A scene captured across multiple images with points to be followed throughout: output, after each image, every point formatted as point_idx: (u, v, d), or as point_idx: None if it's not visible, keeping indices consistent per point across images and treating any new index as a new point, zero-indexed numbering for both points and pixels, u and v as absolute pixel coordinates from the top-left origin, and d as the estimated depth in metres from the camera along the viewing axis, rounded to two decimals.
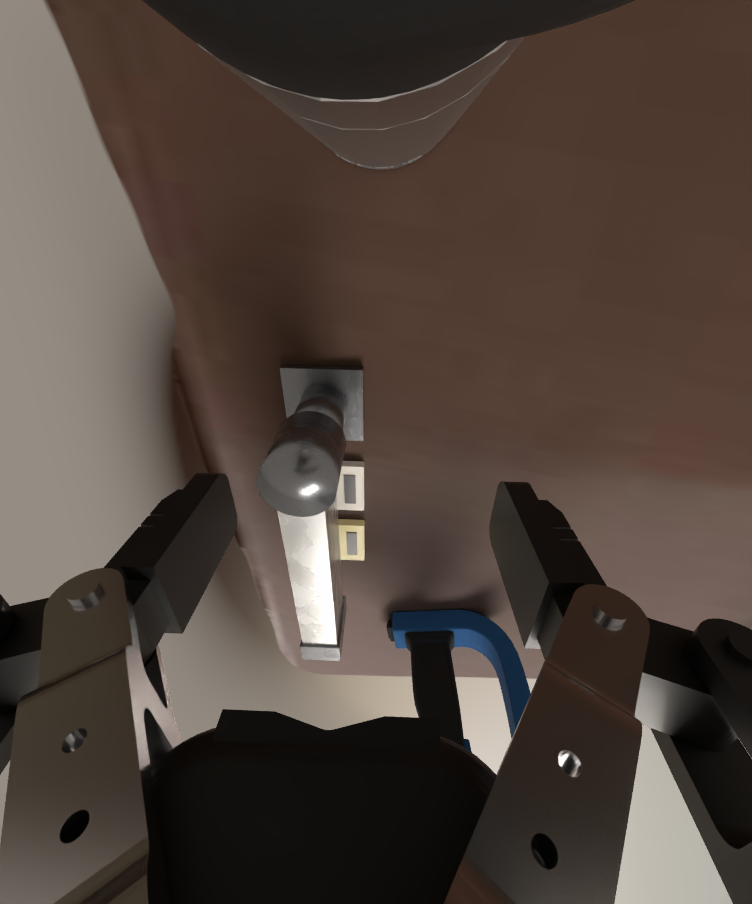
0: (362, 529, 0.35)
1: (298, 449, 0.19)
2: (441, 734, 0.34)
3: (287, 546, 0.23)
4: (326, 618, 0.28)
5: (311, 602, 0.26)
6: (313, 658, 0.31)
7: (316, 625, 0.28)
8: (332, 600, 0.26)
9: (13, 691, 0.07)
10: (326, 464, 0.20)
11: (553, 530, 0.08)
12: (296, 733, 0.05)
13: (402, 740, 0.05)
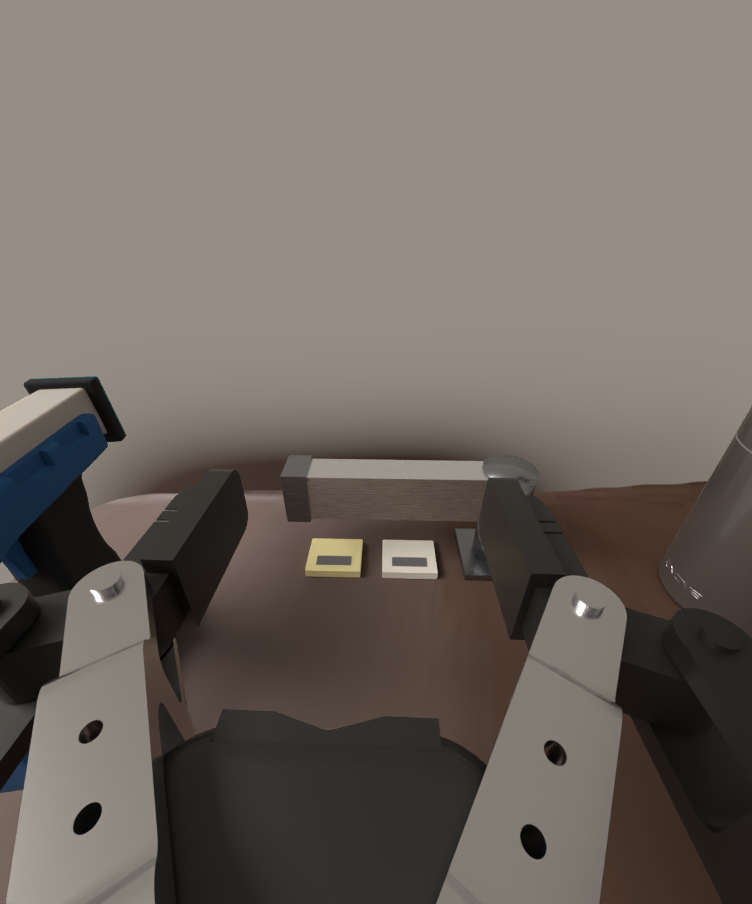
0: (354, 570, 0.33)
1: None
2: (79, 542, 0.21)
3: (446, 462, 0.32)
4: (353, 473, 0.30)
5: (378, 467, 0.31)
6: (288, 461, 0.31)
7: (343, 468, 0.31)
8: (381, 478, 0.30)
9: (37, 680, 0.07)
10: (533, 484, 0.29)
11: (538, 524, 0.09)
12: (296, 733, 0.05)
13: (402, 740, 0.05)
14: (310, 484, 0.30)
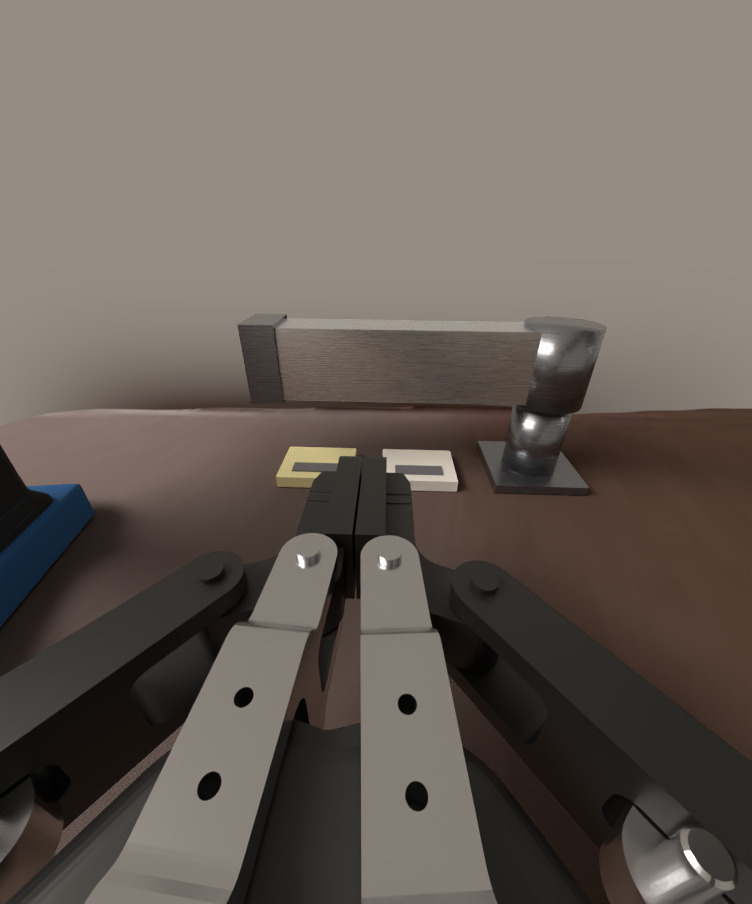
0: None
1: None
2: None
3: (473, 322, 0.23)
4: (342, 326, 0.21)
5: (378, 324, 0.22)
6: (253, 316, 0.23)
7: (328, 323, 0.22)
8: (381, 330, 0.21)
9: None
10: (601, 336, 0.20)
11: (384, 495, 0.09)
12: (296, 733, 0.05)
13: None
14: (281, 340, 0.21)
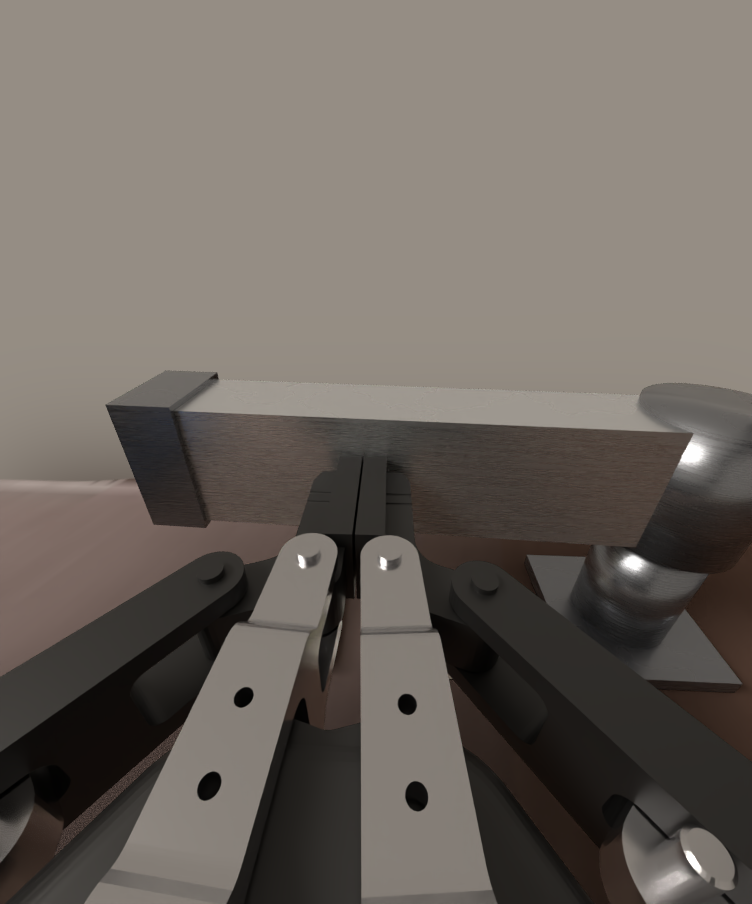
0: None
1: None
2: None
3: (542, 393, 0.13)
4: (303, 407, 0.12)
5: (370, 398, 0.12)
6: (155, 379, 0.13)
7: (280, 396, 0.12)
8: (373, 420, 0.11)
9: None
10: None
11: (384, 495, 0.09)
12: (296, 733, 0.05)
13: None
14: (190, 431, 0.12)
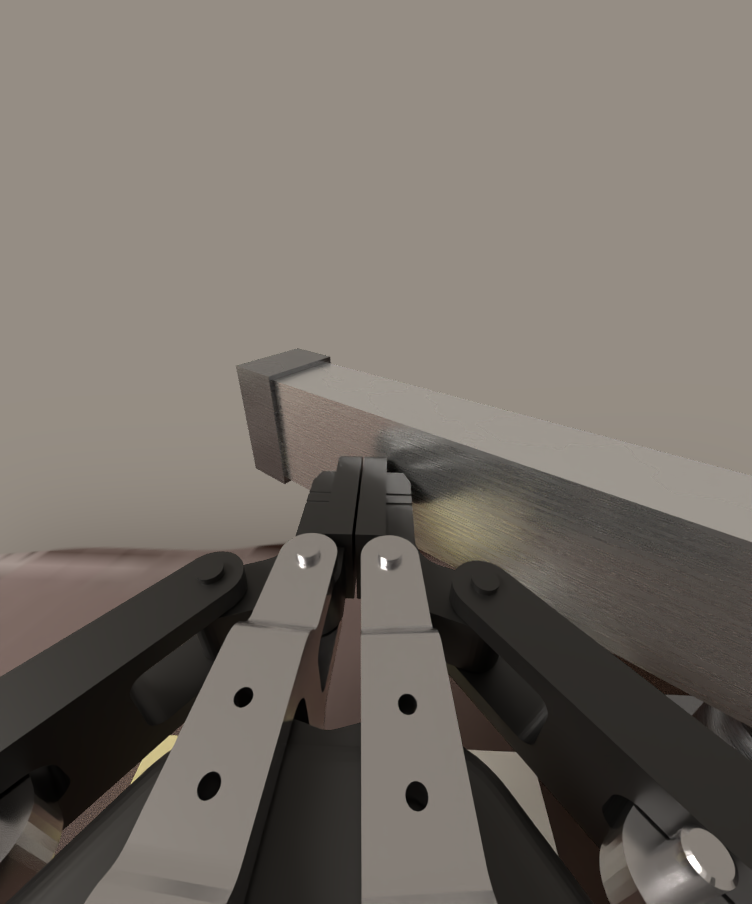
0: None
1: None
2: None
3: (660, 454, 0.09)
4: (365, 401, 0.12)
5: (434, 407, 0.12)
6: (284, 353, 0.16)
7: (358, 387, 0.13)
8: (414, 428, 0.10)
9: None
10: None
11: (384, 495, 0.09)
12: (296, 733, 0.05)
13: None
14: (281, 400, 0.14)
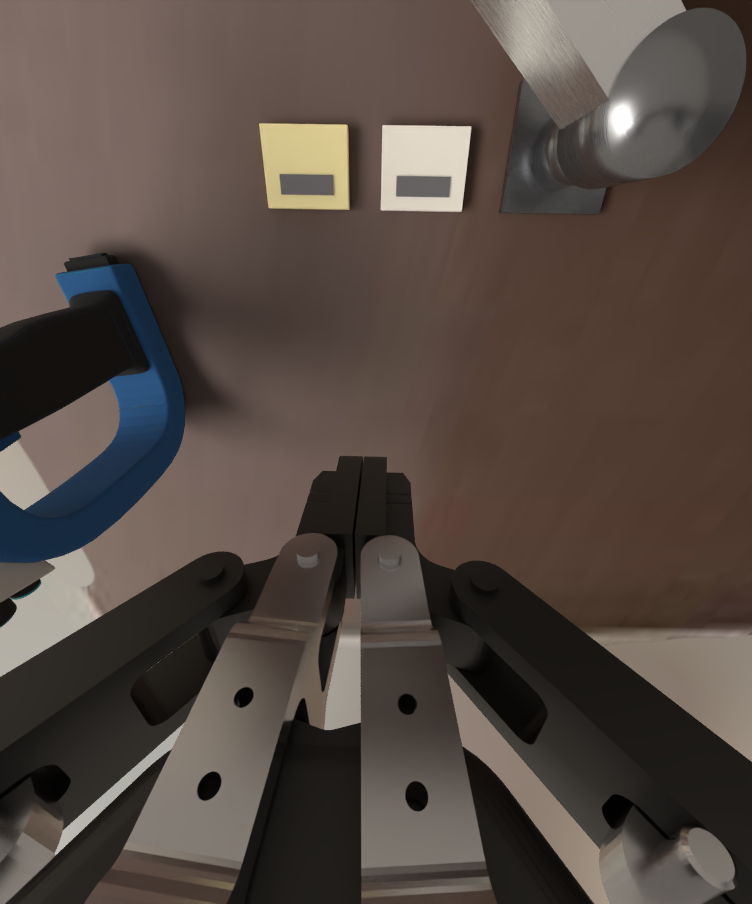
0: (340, 206, 0.23)
1: None
2: (10, 388, 0.17)
3: None
4: None
5: None
6: None
7: None
8: None
9: None
10: (645, 178, 0.14)
11: (384, 495, 0.09)
12: (296, 733, 0.05)
13: None
14: None
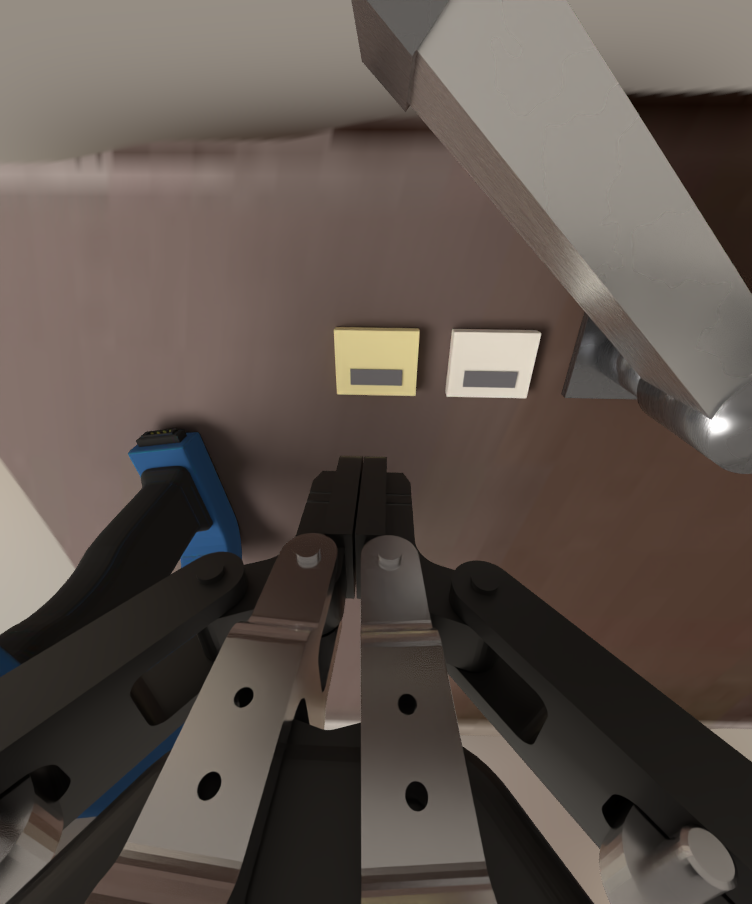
0: (407, 393, 0.23)
1: None
2: None
3: (744, 300, 0.12)
4: (537, 154, 0.10)
5: (610, 182, 0.10)
6: None
7: (539, 93, 0.09)
8: (567, 237, 0.11)
9: None
10: (740, 469, 0.15)
11: (384, 495, 0.09)
12: (296, 733, 0.05)
13: None
14: (424, 73, 0.10)
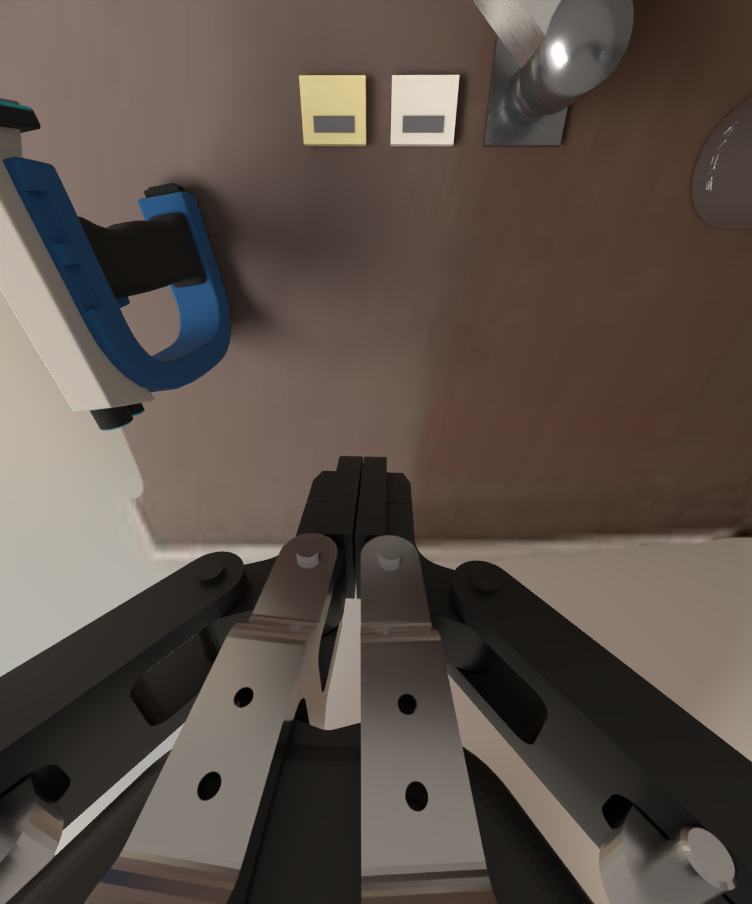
0: (359, 141, 0.29)
1: None
2: (127, 261, 0.24)
3: None
4: None
5: None
6: None
7: None
8: None
9: None
10: (575, 93, 0.21)
11: (384, 495, 0.09)
12: (296, 733, 0.05)
13: None
14: None
